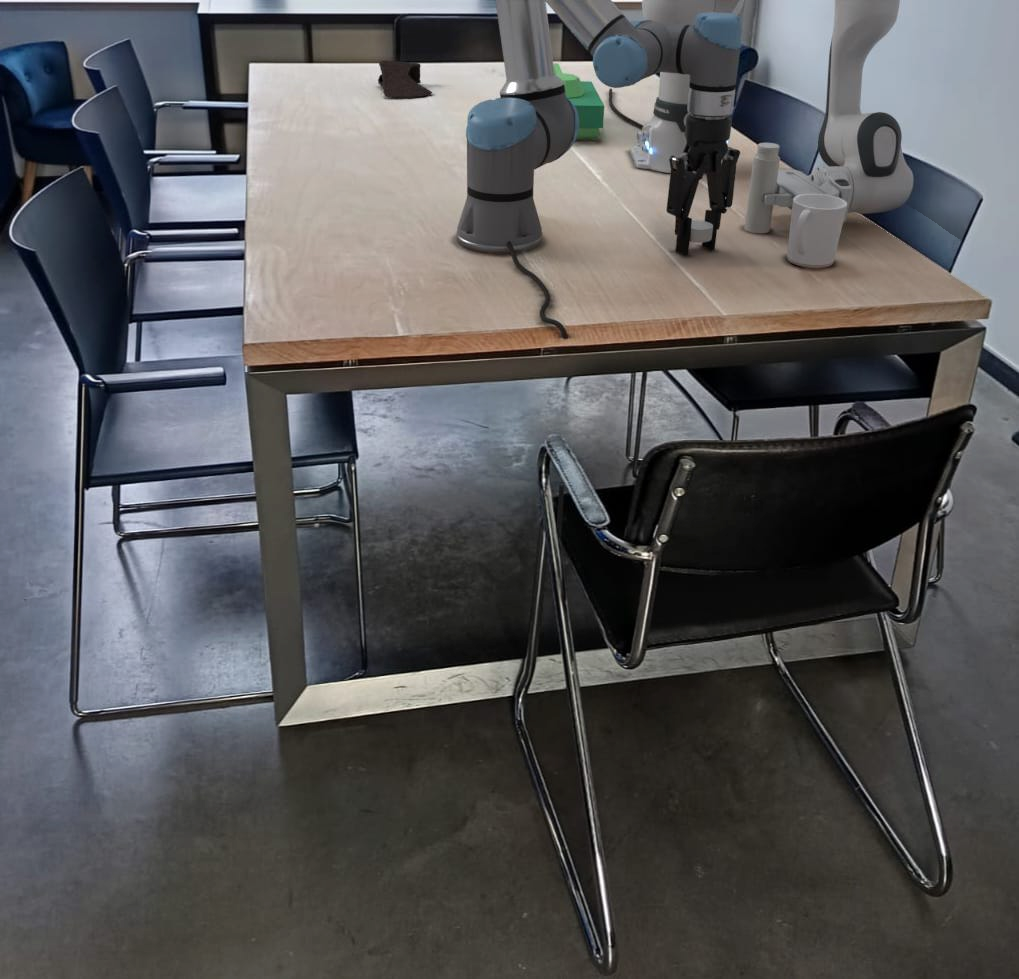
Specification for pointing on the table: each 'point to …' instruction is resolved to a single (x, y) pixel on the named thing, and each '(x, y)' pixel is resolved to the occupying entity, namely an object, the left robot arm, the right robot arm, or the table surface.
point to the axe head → (401, 79)
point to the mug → (815, 229)
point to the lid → (701, 231)
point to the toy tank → (583, 104)
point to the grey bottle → (762, 187)
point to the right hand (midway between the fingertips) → (757, 194)
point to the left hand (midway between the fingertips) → (695, 250)
